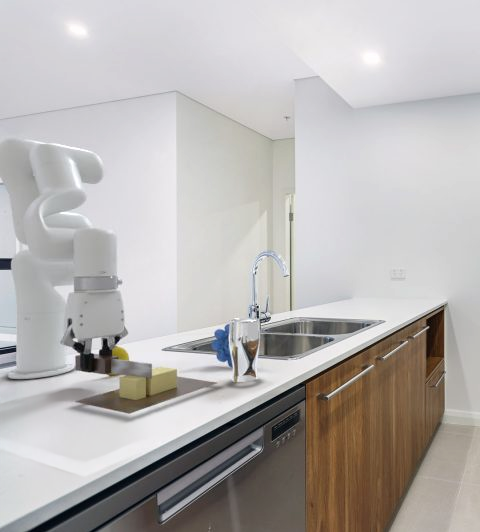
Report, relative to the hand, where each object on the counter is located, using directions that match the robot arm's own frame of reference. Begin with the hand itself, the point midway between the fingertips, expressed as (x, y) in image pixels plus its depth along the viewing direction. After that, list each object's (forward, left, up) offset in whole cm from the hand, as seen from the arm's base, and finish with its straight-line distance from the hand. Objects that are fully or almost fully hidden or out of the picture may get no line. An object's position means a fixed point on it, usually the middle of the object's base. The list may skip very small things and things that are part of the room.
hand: (96, 368), depth 86 cm
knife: (+6, 0, 0) cm, 6 cm away
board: (+14, +3, -5) cm, 15 cm away
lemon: (-7, +9, -5) cm, 12 cm away
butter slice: (+14, -1, -4) cm, 14 cm away
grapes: (+13, +27, -5) cm, 30 cm away
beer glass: (+25, +18, -5) cm, 31 cm away
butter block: (+14, +4, -4) cm, 15 cm away
